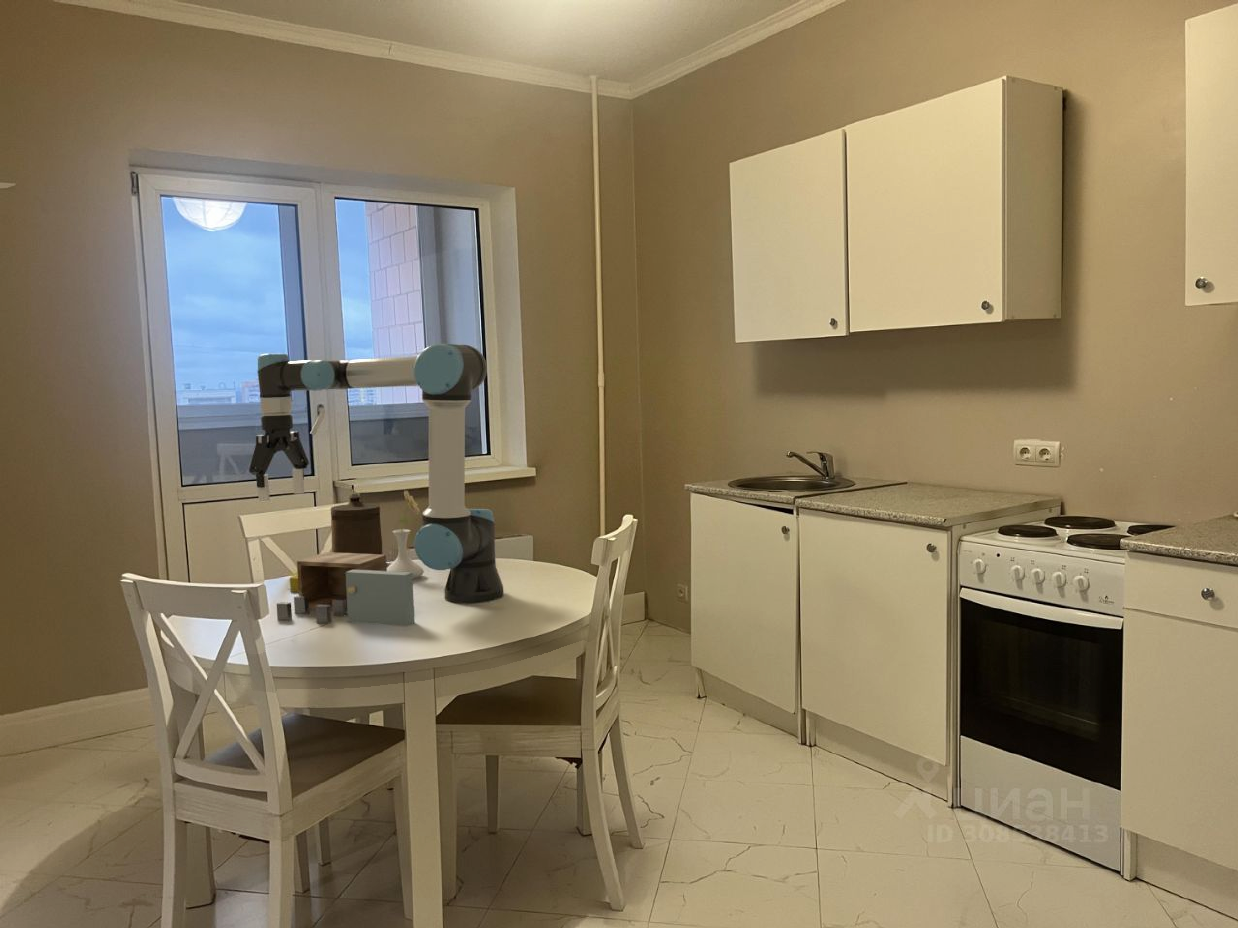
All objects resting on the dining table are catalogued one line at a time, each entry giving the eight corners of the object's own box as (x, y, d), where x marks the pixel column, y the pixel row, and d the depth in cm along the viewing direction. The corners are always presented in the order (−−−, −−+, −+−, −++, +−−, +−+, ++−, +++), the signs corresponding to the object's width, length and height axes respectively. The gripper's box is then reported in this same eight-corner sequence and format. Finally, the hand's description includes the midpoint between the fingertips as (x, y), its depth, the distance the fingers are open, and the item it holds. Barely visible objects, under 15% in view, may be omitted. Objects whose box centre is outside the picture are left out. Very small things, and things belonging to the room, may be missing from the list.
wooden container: (370, 558, 299) (366, 489, 297) (391, 564, 288) (387, 493, 285) (325, 564, 290) (321, 494, 287) (345, 572, 278) (341, 498, 276)
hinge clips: (347, 614, 227) (346, 598, 227) (327, 623, 220) (326, 606, 219) (298, 611, 232) (297, 595, 231) (277, 619, 224) (276, 603, 224)
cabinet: (388, 600, 241) (385, 554, 240) (361, 612, 229) (358, 564, 228) (328, 596, 246) (326, 552, 245) (299, 608, 235) (296, 561, 234)
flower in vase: (411, 584, 260) (407, 494, 257) (375, 582, 263) (370, 494, 261) (434, 574, 272) (430, 488, 269) (399, 572, 275) (395, 488, 273)
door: (414, 622, 219) (412, 572, 217) (405, 627, 215) (402, 576, 213) (355, 618, 224) (353, 569, 222) (345, 623, 220) (342, 573, 218)
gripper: (295, 412, 253) (300, 490, 255) (230, 417, 229) (236, 503, 231) (319, 412, 250) (324, 490, 252) (255, 416, 227) (261, 503, 229)
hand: (282, 496), depth 242 cm, fingers open, 13 cm apart
